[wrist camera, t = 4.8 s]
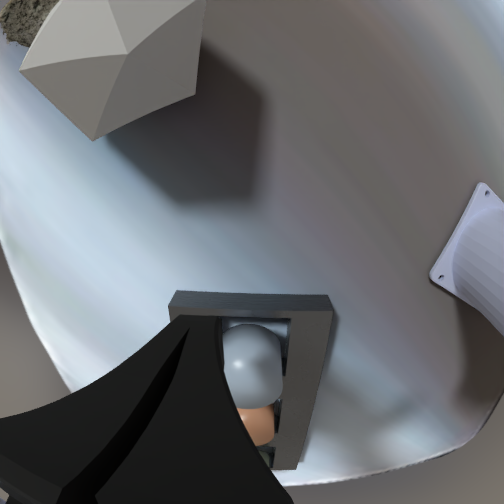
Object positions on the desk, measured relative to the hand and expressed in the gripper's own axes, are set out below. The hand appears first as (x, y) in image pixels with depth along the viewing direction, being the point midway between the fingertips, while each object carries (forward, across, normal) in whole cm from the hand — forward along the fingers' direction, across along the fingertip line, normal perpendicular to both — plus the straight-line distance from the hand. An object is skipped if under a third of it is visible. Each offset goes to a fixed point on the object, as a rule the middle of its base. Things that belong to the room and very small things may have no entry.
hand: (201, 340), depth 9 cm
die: (+10, +5, -12) cm, 16 cm away
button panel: (+9, -1, +14) cm, 17 cm away
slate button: (+7, -1, +7) cm, 10 cm away
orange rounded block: (+9, -1, +14) cm, 17 cm away
